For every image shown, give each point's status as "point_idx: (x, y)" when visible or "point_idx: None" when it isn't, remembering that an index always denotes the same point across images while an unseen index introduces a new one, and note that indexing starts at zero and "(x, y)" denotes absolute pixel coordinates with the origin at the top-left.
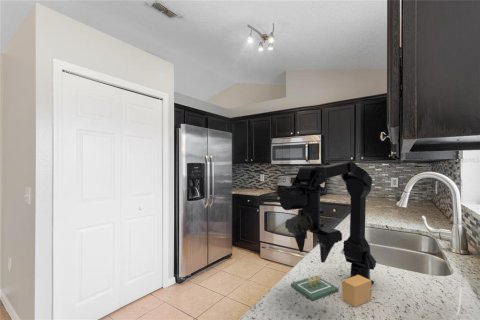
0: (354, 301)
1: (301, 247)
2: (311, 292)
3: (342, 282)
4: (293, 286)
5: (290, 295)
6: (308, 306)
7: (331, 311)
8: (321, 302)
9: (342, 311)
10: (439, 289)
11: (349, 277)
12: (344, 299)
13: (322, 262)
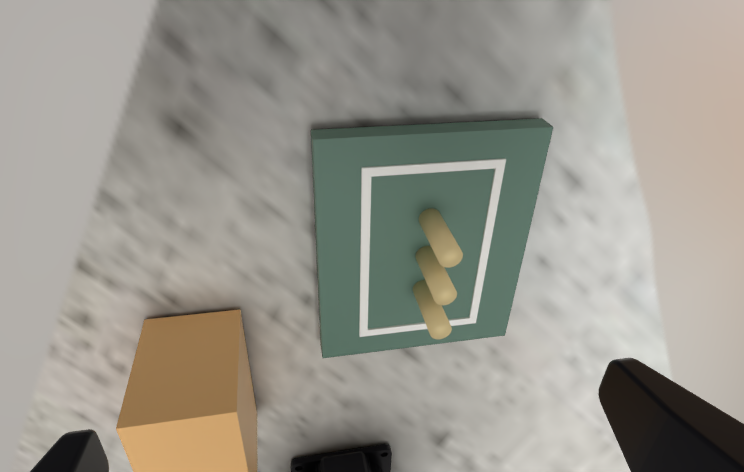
0: (141, 343)
1: (653, 443)
2: (368, 180)
3: (234, 399)
4: (519, 124)
5: (460, 27)
6: (273, 56)
7: (158, 168)
8: (275, 179)
9: (135, 230)
10: None
11: (388, 460)
12: (223, 317)
13: (67, 436)
